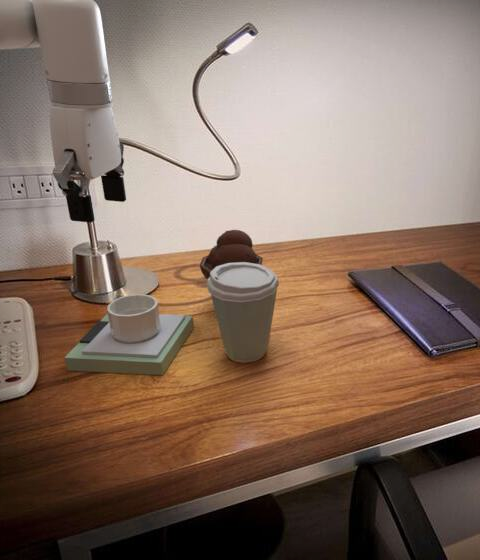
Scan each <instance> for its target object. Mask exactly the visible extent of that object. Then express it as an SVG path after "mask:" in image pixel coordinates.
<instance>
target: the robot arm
mask: <svg viewBox="0 0 480 560" xmlns="http://www.w3.org/2000/svg"><path fill="white" fill-rule="evenodd" d="M100 9H101V8H100V7H99V5H98V3H97V2H96V1H95V0H0V51H1V50H2V51H3V50H21V49H22V50H23V49H34V48H36V49H37V48H40V52H41V57H42V62H43V67H44V73H45V78H46V83H47V88H48V94H49V100H50V105H51V106H50V109H49V112H50V113H49V129H50V139H51V147H52V148H51V149H52V156H53V163H54V167H53V169H52V172H51V173H52V175H53V177H54V179H55V181H56V182H57V186H58V189H60V191H61V193H62V195H63V196H65V199H66V204H67V209H68V216H69V219H70V221H71V222H79V223H80V222H81V223H89V224H90V223H93V222H94V221H95V214H94V207H93V202H92V195H91V194H88V192H89V187H90V183H91V181H92V180H95V179H96V178H99V177H100V179H101V185H102V191H103V197H104V200H105V201H107V202H108V201H109V202H120V203H124V202H125V201H127V195H126V194H127V193H126V186H125V181H124V180H125V179H124V176H125V170H124V168H123V166H124V163H125V159H124V150H125V145H124V144H123V143H121V142H120V139H119V132H118V128H117V123H116V119H115V114H114V111H113V107H114V101H113V93H112V87H111V79H110V72H109V71H110V70H109V66H108V64H109V63H108V57H107V49H106V41H105V34H104V28H103V19H102V14H101V10H100ZM75 181H80V183H79V184H78V183H76V182H75Z"/></svg>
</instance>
